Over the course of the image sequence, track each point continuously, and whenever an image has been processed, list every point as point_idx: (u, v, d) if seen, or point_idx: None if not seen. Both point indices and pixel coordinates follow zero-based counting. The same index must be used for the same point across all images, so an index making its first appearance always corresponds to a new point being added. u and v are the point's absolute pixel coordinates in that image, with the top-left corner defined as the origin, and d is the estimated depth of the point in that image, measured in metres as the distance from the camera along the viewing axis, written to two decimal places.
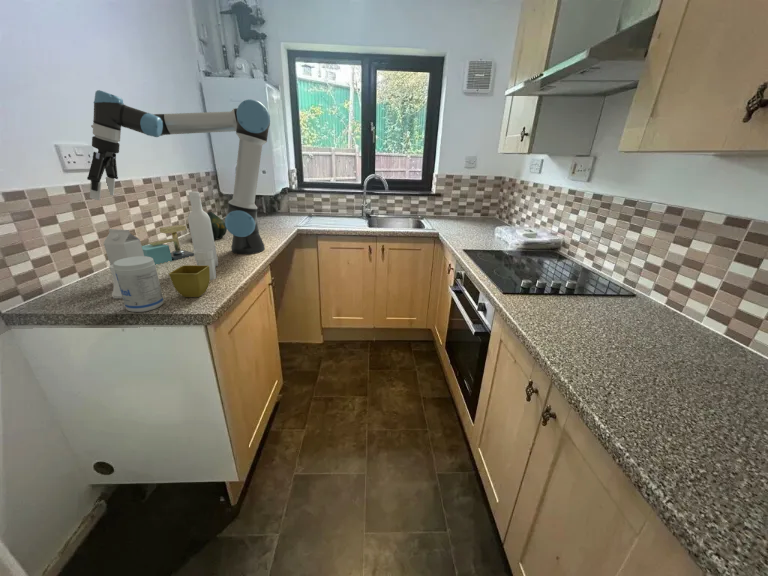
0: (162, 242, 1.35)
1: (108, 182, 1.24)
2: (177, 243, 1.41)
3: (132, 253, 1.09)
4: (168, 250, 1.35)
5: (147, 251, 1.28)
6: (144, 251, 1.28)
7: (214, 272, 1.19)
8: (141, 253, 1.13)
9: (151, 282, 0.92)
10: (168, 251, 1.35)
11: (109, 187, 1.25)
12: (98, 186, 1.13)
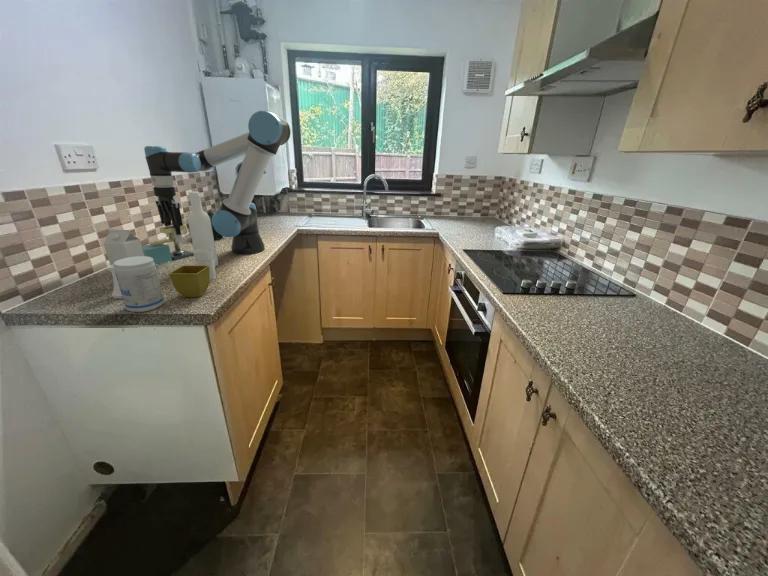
0: (162, 242, 1.35)
1: None
2: (177, 243, 1.41)
3: (132, 253, 1.09)
4: (168, 250, 1.35)
5: (147, 251, 1.28)
6: (144, 251, 1.28)
7: (214, 272, 1.19)
8: (141, 253, 1.13)
9: (151, 282, 0.92)
10: (168, 251, 1.35)
11: None
12: (179, 230, 1.39)
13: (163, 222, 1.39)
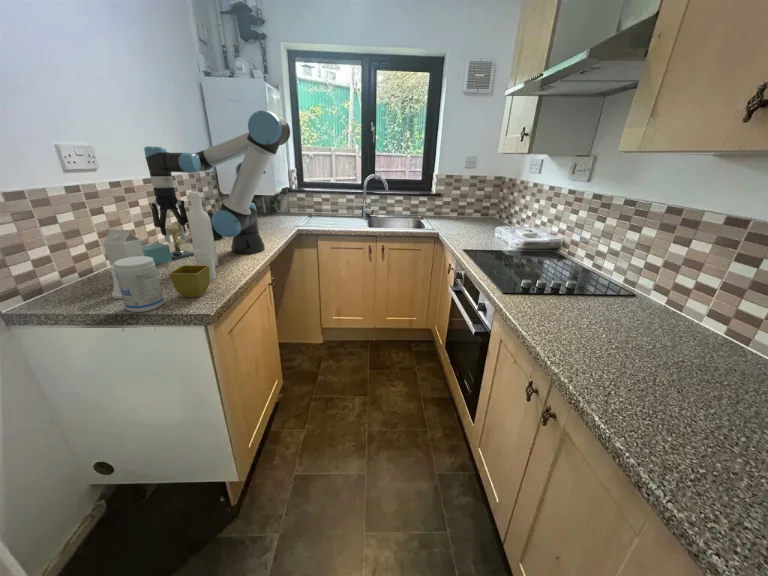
0: (179, 242, 1.37)
1: None
2: None
3: (132, 253, 1.09)
4: (168, 250, 1.35)
5: (146, 251, 1.28)
6: (144, 251, 1.28)
7: (214, 272, 1.19)
8: (141, 253, 1.13)
9: (151, 282, 0.92)
10: (168, 251, 1.35)
11: None
12: None
13: (160, 225, 1.33)
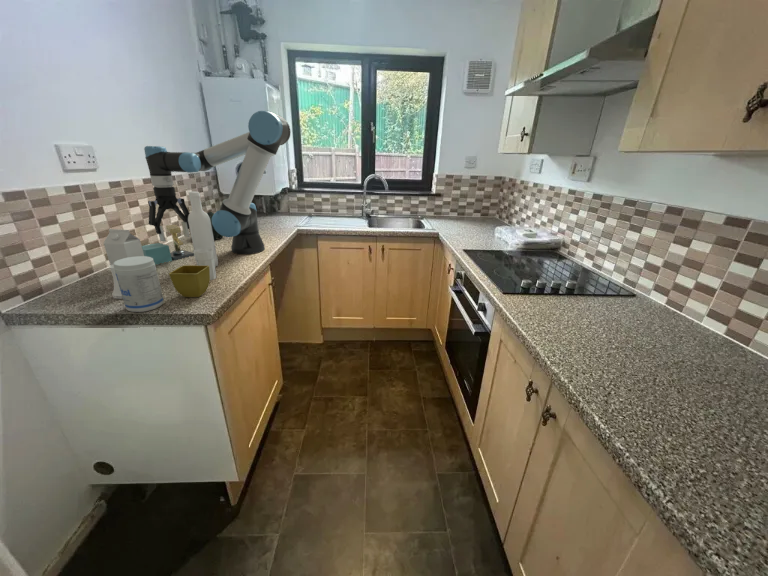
0: None
1: None
2: None
3: (132, 253, 1.09)
4: (168, 250, 1.35)
5: (146, 251, 1.28)
6: (143, 251, 1.28)
7: (214, 272, 1.19)
8: (141, 253, 1.13)
9: (151, 283, 0.92)
10: (168, 251, 1.35)
11: None
12: None
13: (154, 224, 1.31)
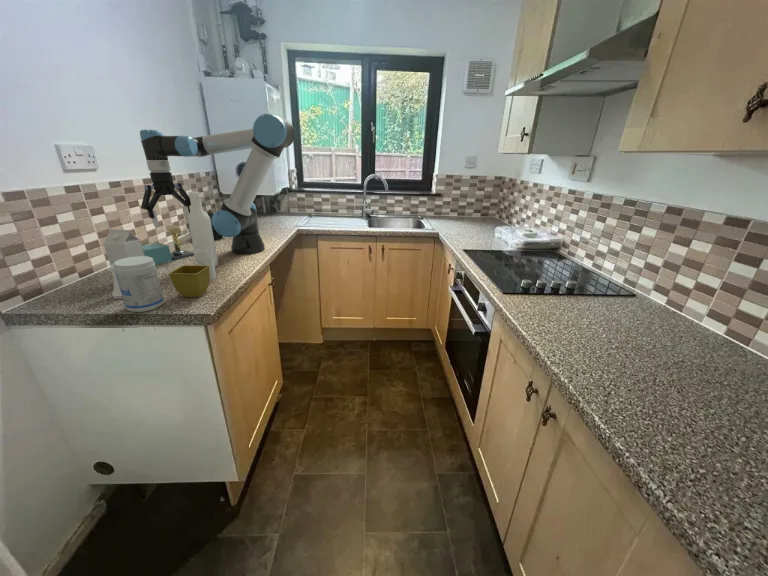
0: None
1: None
2: None
3: (132, 253, 1.09)
4: (168, 250, 1.35)
5: (146, 251, 1.28)
6: (143, 251, 1.28)
7: (214, 272, 1.19)
8: (141, 253, 1.13)
9: (151, 282, 0.92)
10: (168, 251, 1.35)
11: None
12: None
13: (147, 208, 1.27)
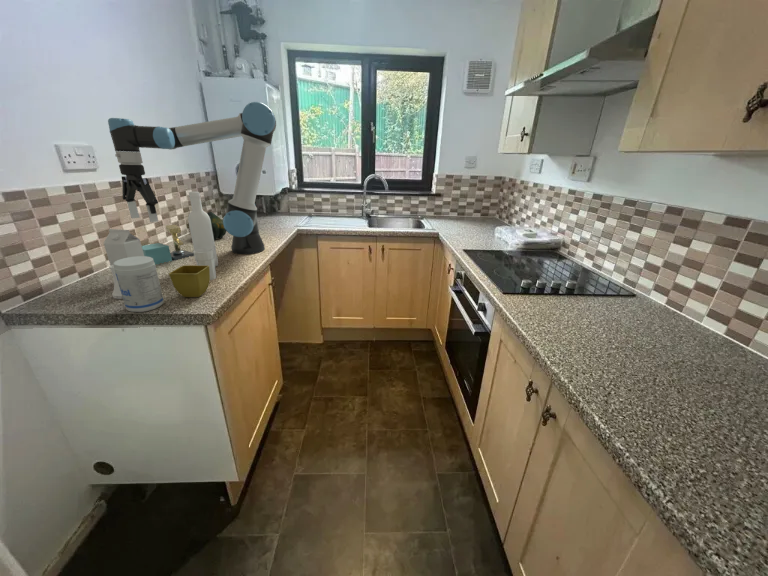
0: None
1: (132, 206, 1.29)
2: None
3: (132, 253, 1.09)
4: (168, 251, 1.35)
5: (146, 251, 1.28)
6: (143, 251, 1.28)
7: (214, 272, 1.19)
8: (141, 253, 1.13)
9: (151, 282, 0.92)
10: (168, 251, 1.35)
11: (134, 211, 1.30)
12: None
13: (124, 198, 1.28)
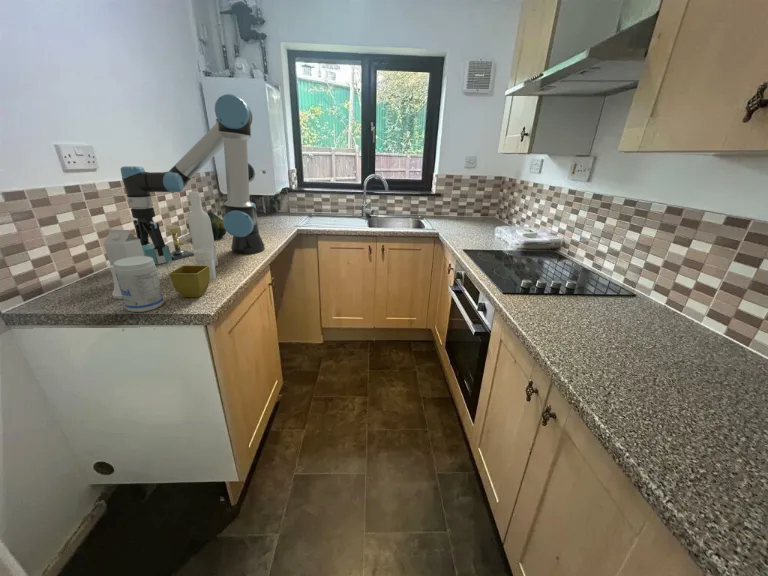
0: None
1: None
2: None
3: (132, 253, 1.09)
4: (168, 251, 1.35)
5: (146, 251, 1.28)
6: (143, 251, 1.28)
7: (214, 272, 1.19)
8: (141, 253, 1.13)
9: (151, 282, 0.92)
10: (168, 251, 1.35)
11: None
12: None
13: None
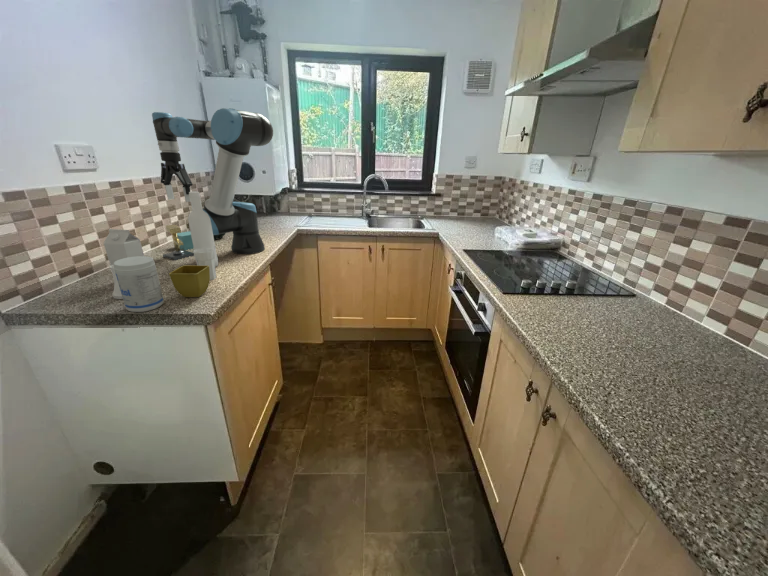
0: None
1: (168, 189, 1.50)
2: None
3: (132, 253, 1.09)
4: None
5: (183, 237, 1.51)
6: (180, 237, 1.51)
7: (214, 272, 1.19)
8: (141, 253, 1.13)
9: (151, 282, 0.92)
10: None
11: (170, 193, 1.51)
12: None
13: (162, 182, 1.49)
